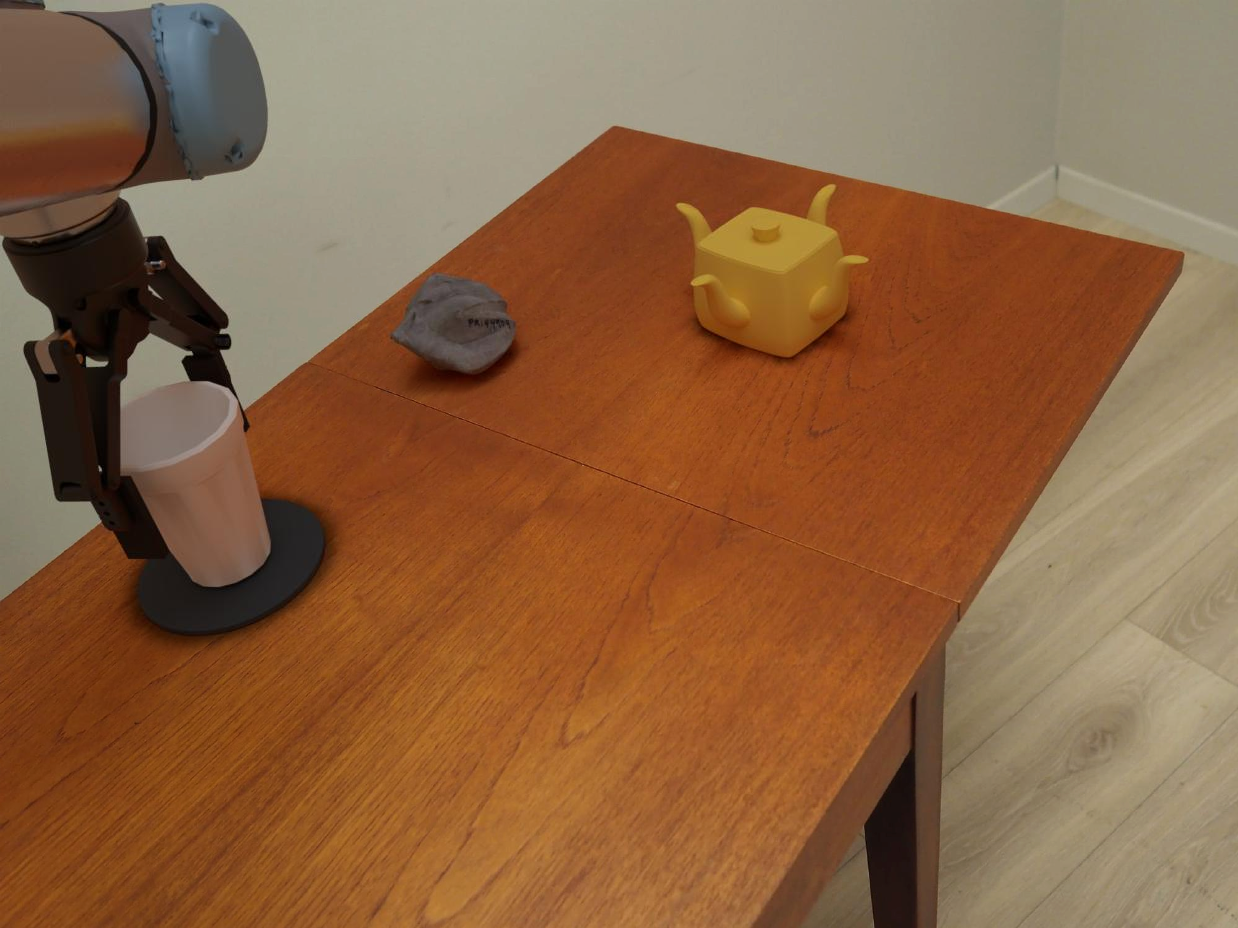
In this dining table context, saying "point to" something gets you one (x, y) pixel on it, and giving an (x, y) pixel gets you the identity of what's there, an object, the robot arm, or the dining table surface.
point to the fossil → (456, 324)
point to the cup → (197, 478)
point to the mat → (248, 600)
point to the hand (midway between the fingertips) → (193, 489)
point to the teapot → (770, 276)
